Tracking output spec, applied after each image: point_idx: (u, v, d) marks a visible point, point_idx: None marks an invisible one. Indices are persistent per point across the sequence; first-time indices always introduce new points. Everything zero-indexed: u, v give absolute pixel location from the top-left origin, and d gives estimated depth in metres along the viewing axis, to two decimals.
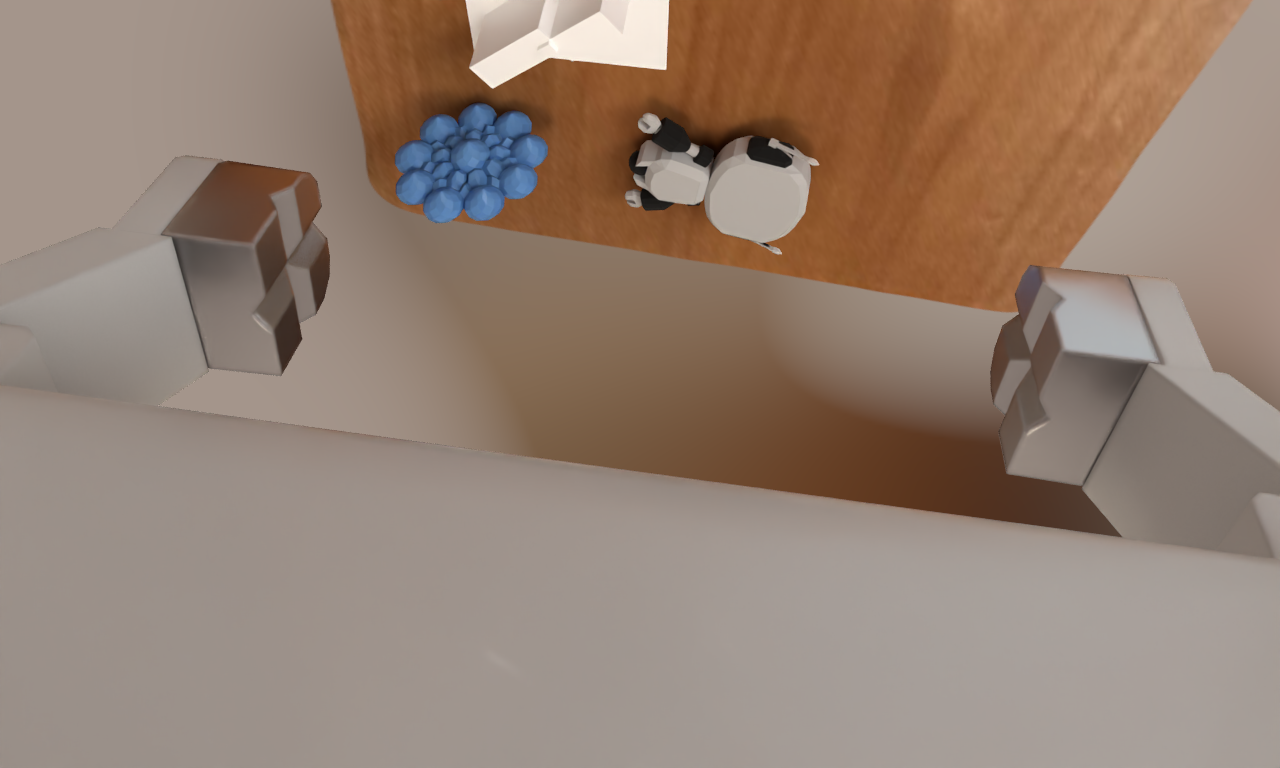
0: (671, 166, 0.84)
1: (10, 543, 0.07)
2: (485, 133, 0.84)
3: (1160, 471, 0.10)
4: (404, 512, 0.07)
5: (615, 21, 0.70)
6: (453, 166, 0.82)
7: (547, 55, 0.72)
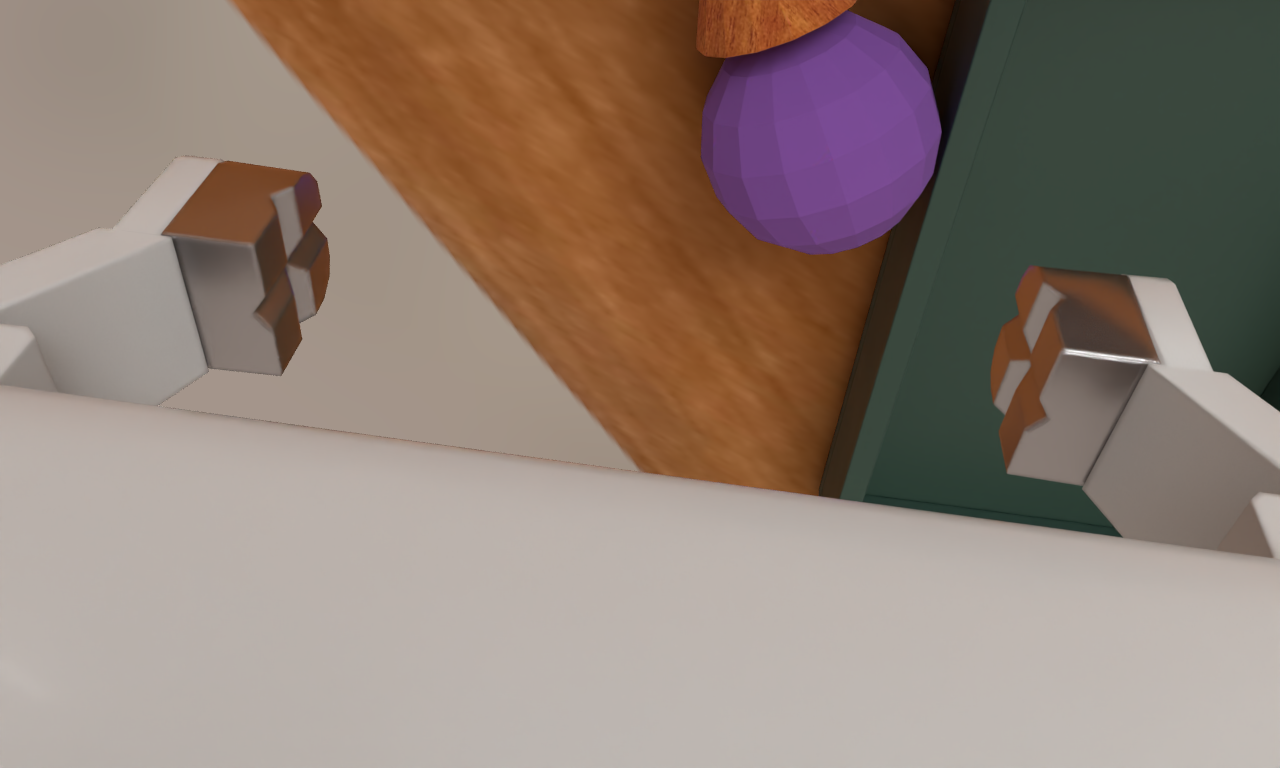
0: None
1: (10, 543, 0.07)
2: None
3: (1160, 471, 0.10)
4: (404, 512, 0.07)
5: None
6: None
7: None
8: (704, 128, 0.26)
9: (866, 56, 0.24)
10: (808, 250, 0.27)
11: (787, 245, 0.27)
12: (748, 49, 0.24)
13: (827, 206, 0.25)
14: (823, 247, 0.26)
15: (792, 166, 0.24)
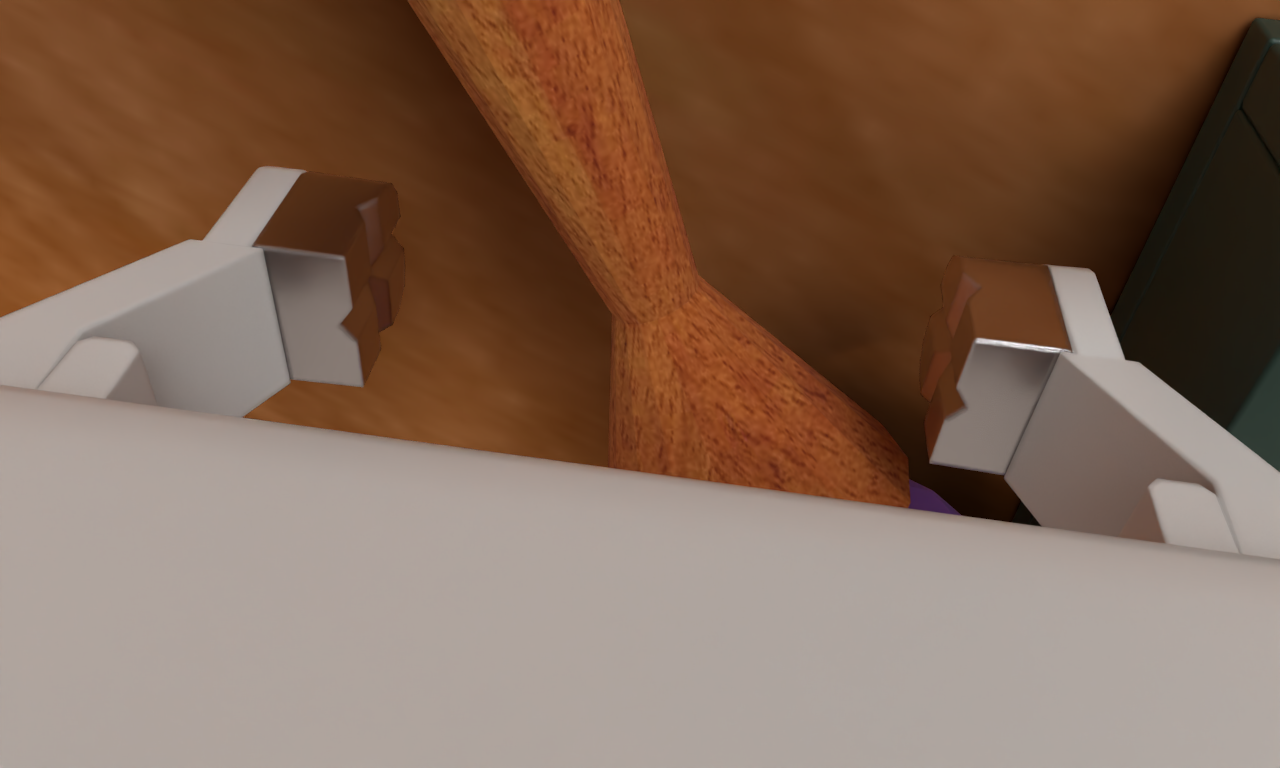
0: None
1: (10, 543, 0.07)
2: None
3: (1073, 459, 0.10)
4: (404, 512, 0.07)
5: None
6: None
7: None
8: None
9: None
10: None
11: None
12: None
13: None
14: None
15: None
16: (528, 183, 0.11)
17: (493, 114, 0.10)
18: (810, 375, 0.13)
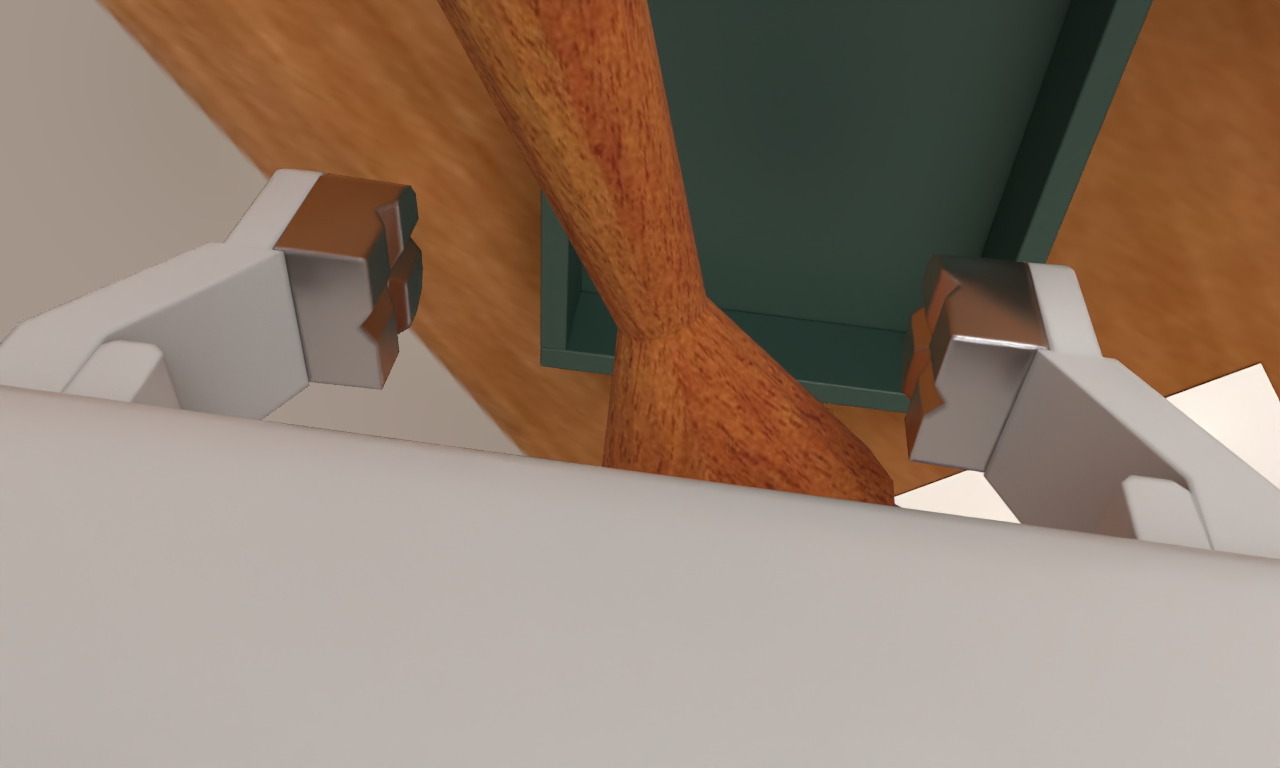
0: None
1: (10, 543, 0.07)
2: None
3: (1051, 456, 0.10)
4: (404, 512, 0.07)
5: None
6: None
7: None
8: None
9: None
10: None
11: None
12: None
13: None
14: None
15: None
16: (548, 197, 0.11)
17: (521, 129, 0.10)
18: (806, 397, 0.13)
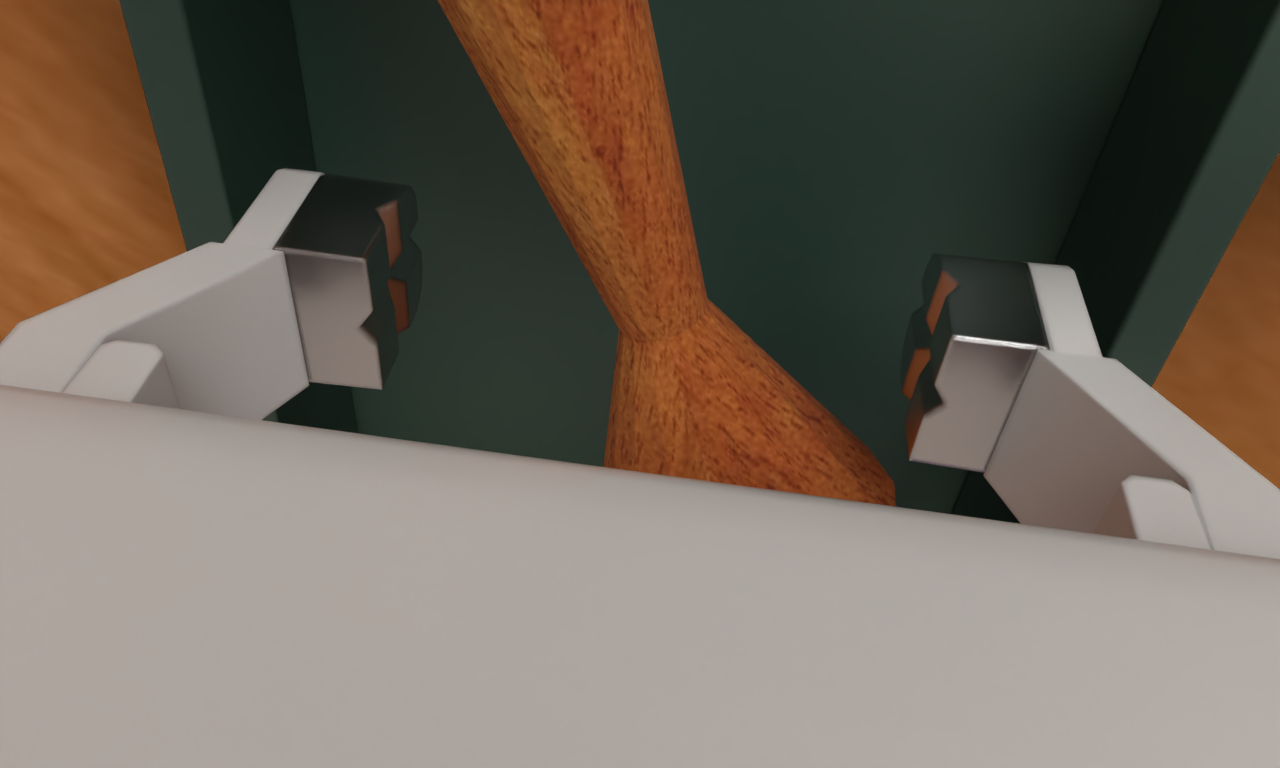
0: None
1: (10, 543, 0.07)
2: None
3: (1051, 456, 0.10)
4: (404, 512, 0.07)
5: None
6: None
7: None
8: None
9: None
10: None
11: None
12: None
13: None
14: None
15: None
16: (549, 199, 0.11)
17: (522, 131, 0.10)
18: (807, 399, 0.13)
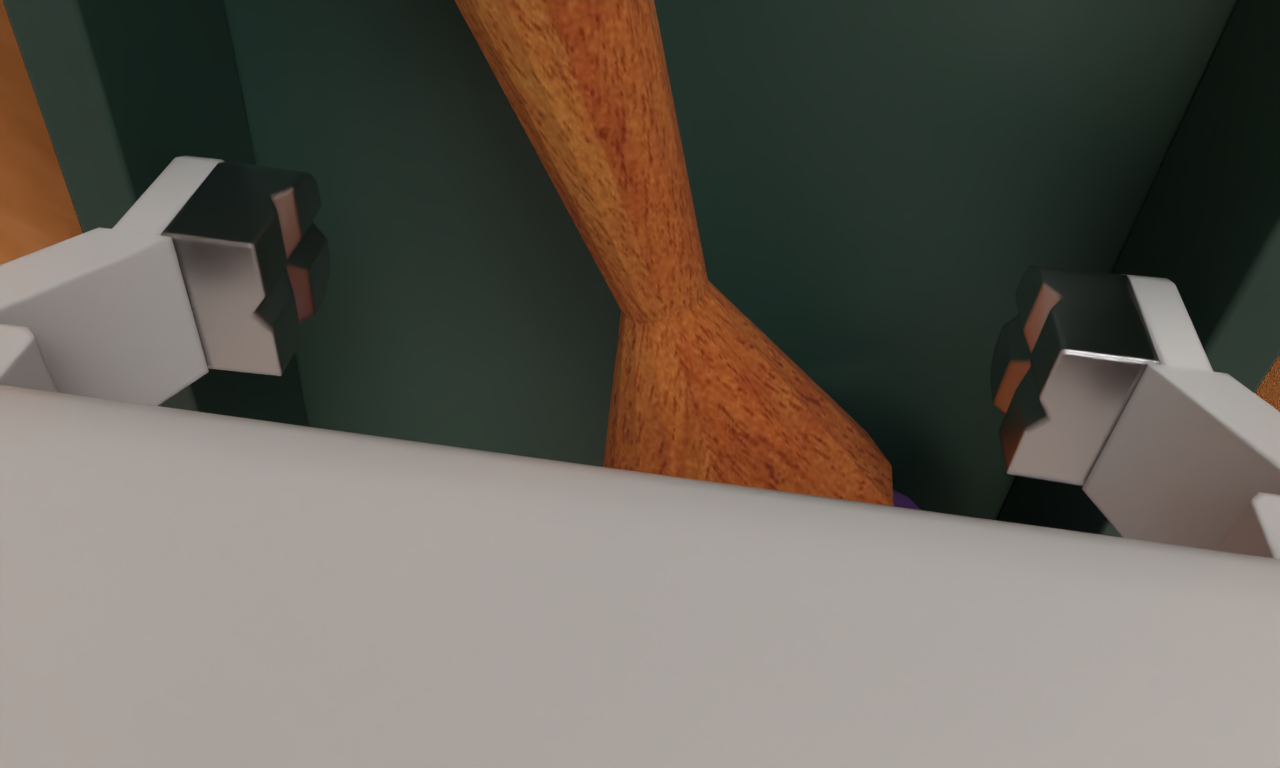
0: None
1: (10, 543, 0.07)
2: None
3: (1160, 471, 0.10)
4: (404, 512, 0.07)
5: None
6: None
7: None
8: None
9: None
10: None
11: None
12: None
13: None
14: None
15: None
16: (553, 181, 0.11)
17: (527, 113, 0.11)
18: (806, 381, 0.13)
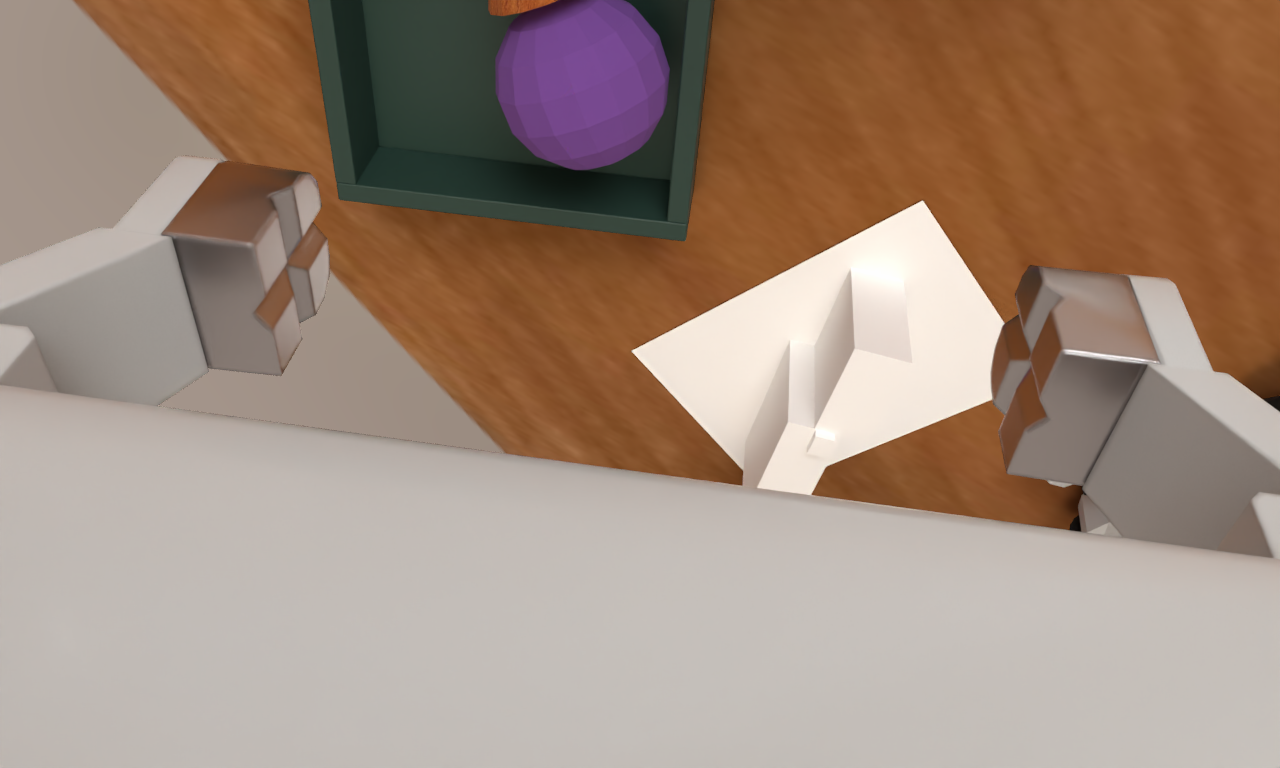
0: None
1: (10, 543, 0.07)
2: None
3: (1160, 471, 0.10)
4: (404, 512, 0.07)
5: (891, 350, 0.41)
6: None
7: (825, 452, 0.44)
8: (496, 70, 0.36)
9: (603, 21, 0.34)
10: (570, 165, 0.36)
11: (553, 160, 0.36)
12: (516, 10, 0.33)
13: (574, 128, 0.34)
14: (578, 162, 0.36)
15: (546, 97, 0.34)
16: None
17: None
18: None
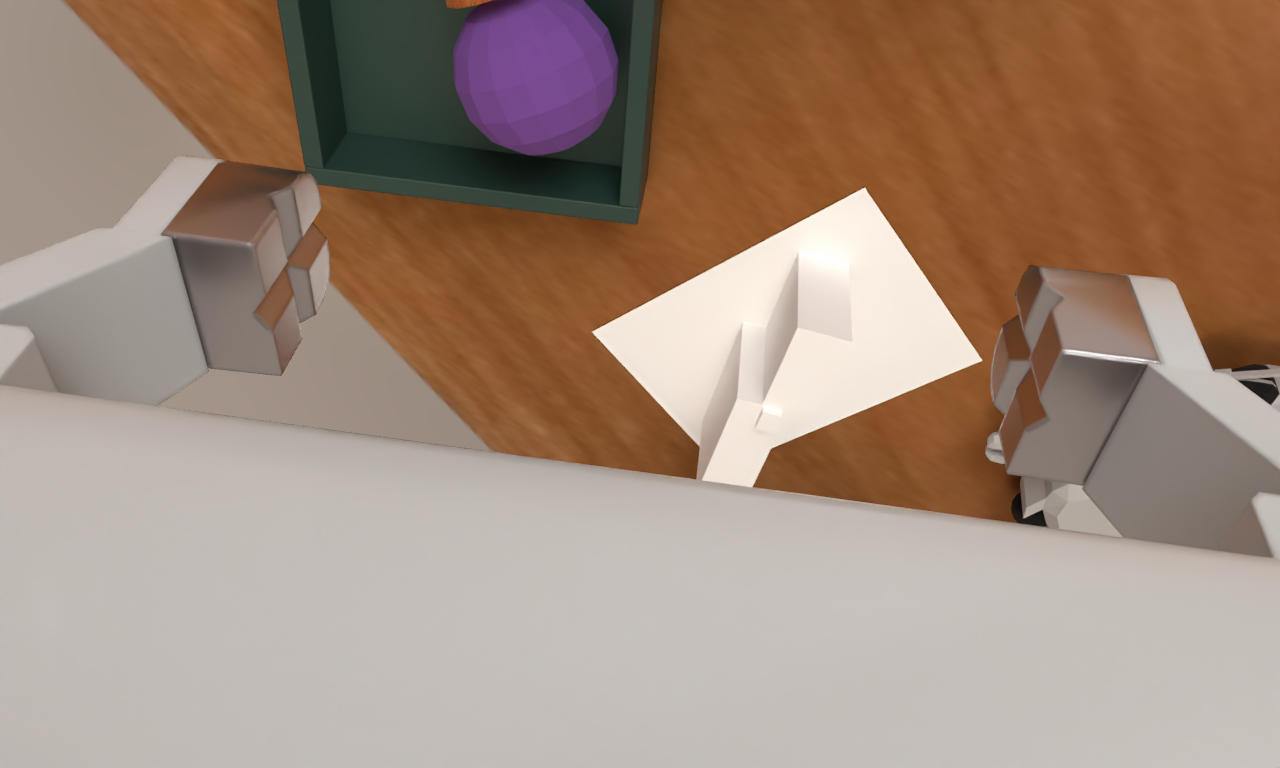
0: (1076, 492, 0.49)
1: (10, 543, 0.07)
2: None
3: (1160, 471, 0.10)
4: (404, 512, 0.07)
5: (832, 329, 0.43)
6: None
7: (772, 428, 0.46)
8: (453, 59, 0.38)
9: (553, 14, 0.36)
10: (524, 151, 0.38)
11: (507, 145, 0.38)
12: (470, 3, 0.35)
13: (525, 115, 0.36)
14: (531, 148, 0.38)
15: (499, 85, 0.36)
16: None
17: None
18: None
